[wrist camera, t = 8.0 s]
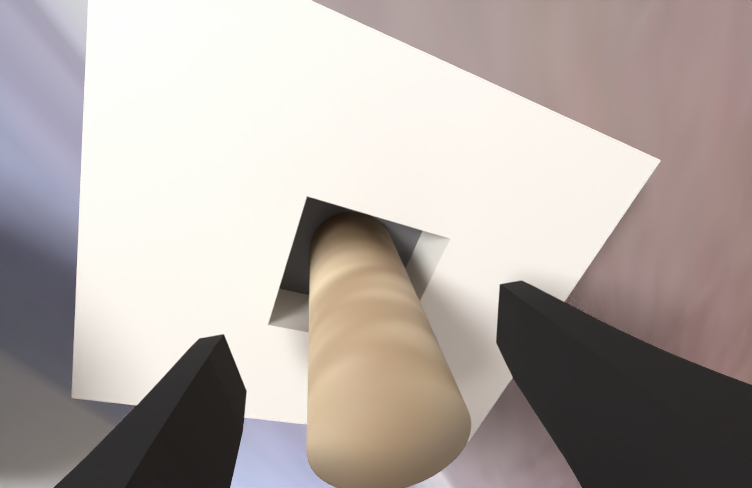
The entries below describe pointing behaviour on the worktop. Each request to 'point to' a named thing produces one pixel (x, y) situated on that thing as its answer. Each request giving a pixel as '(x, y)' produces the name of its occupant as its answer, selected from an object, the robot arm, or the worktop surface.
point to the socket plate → (310, 192)
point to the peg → (374, 366)
